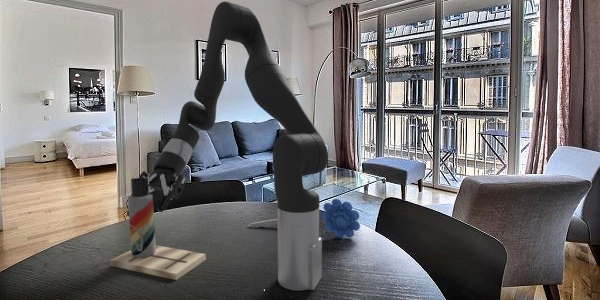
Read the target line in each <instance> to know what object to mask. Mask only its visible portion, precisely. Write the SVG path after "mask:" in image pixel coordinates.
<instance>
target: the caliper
mask: <svg viewBox="0 0 600 300" xmlns="http://www.w3.org/2000/svg"><path fill="white" fill-rule="evenodd" d="M271 225H278V218H273V219H272V218H271V219H267V220H262V221H256V222H251V223H250V224H248V225H247V226H246V227H247V228H251V229H252V228H260V227H261V228H262V227H267V226H271Z"/></svg>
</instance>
